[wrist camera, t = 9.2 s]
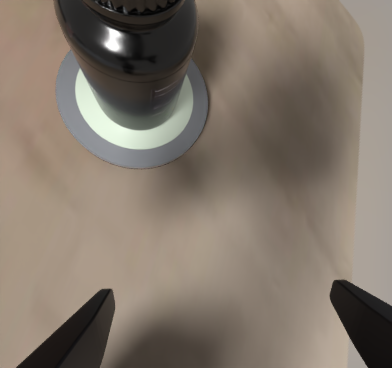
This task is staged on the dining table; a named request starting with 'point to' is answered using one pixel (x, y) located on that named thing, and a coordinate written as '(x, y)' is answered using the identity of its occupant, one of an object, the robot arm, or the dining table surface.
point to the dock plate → (126, 138)
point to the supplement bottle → (132, 54)
